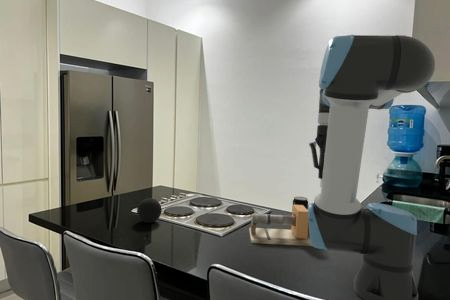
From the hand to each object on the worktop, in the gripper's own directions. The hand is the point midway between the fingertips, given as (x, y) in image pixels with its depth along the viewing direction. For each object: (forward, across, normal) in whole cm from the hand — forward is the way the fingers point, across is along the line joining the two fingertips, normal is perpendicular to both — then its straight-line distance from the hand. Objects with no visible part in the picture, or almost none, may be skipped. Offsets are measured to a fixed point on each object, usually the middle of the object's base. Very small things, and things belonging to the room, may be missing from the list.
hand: (323, 187), depth 125 cm
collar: (+18, +8, 0) cm, 20 cm away
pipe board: (+20, +15, 0) cm, 25 cm away
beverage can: (+21, +4, -18) cm, 28 cm away
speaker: (+21, +68, -11) cm, 72 cm away
